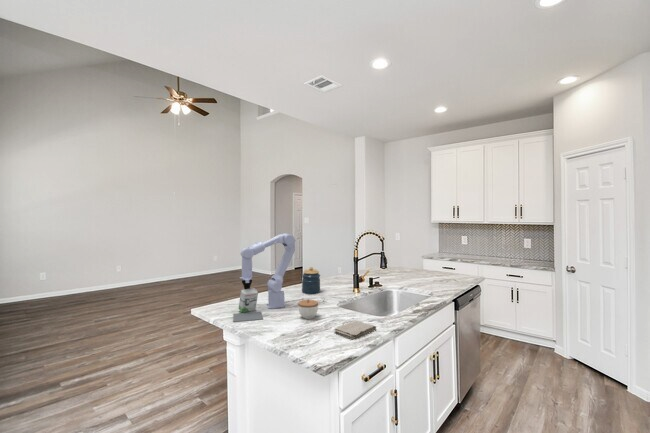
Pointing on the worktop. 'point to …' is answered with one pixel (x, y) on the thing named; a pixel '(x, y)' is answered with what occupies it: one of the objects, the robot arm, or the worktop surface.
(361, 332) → the washcloth
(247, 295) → the ink box
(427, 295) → the worktop surface
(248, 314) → the mat
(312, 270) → the canister
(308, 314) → the lidded jar
